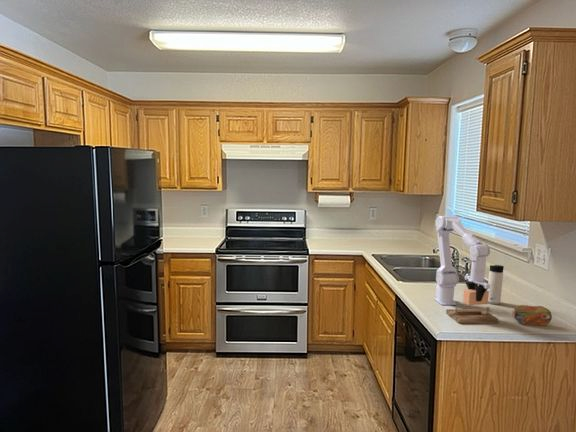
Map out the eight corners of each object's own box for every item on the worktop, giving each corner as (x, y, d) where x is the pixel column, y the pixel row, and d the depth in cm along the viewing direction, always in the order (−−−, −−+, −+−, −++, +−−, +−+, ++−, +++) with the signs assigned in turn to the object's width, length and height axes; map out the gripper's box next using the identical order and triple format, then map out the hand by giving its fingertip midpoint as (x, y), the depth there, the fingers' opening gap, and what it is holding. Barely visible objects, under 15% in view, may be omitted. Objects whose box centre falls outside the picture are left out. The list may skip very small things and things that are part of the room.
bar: (481, 301, 190) (482, 288, 189) (487, 304, 186) (488, 291, 185) (462, 302, 187) (464, 289, 187) (468, 305, 183) (469, 292, 183)
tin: (514, 323, 181) (516, 305, 180) (511, 321, 184) (513, 303, 183) (551, 326, 179) (553, 308, 178) (547, 324, 182) (549, 305, 181)
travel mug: (492, 305, 204) (495, 266, 202) (483, 300, 211) (487, 263, 208) (503, 305, 205) (507, 266, 203) (494, 300, 212) (498, 263, 209)
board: (446, 313, 191) (446, 303, 191) (482, 313, 193) (483, 303, 192) (458, 323, 180) (459, 312, 179) (497, 323, 181) (498, 312, 180)
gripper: (460, 266, 191) (457, 294, 192) (481, 274, 177) (478, 305, 178) (473, 266, 192) (470, 293, 194) (495, 274, 178) (492, 304, 180)
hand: (475, 299), depth 186 cm, fingers closed on bar, 4 cm apart
